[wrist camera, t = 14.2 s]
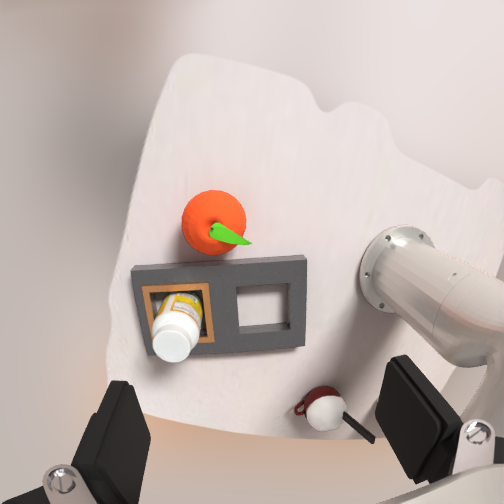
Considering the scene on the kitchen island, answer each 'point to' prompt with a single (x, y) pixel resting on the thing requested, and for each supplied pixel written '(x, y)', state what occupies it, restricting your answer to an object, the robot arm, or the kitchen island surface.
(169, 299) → the supplement bottle
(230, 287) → the two-pocket grey tray
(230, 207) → the clementine
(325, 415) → the cocoa
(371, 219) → the kitchen island surface
